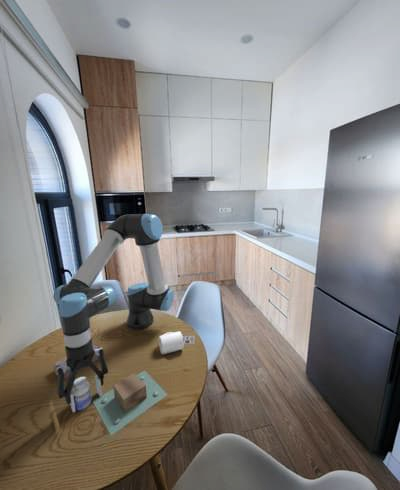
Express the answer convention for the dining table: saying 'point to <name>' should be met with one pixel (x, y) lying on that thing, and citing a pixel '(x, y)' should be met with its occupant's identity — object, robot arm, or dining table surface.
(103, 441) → the dining table surface
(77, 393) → the pill bottle
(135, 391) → the walnut block
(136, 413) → the build board
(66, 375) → the brick
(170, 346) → the mug
